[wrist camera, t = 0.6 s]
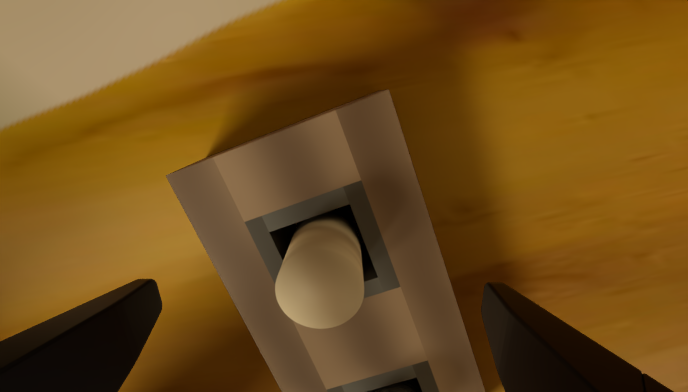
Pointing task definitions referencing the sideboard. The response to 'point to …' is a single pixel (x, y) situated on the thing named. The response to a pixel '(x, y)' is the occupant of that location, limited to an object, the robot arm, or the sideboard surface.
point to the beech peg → (322, 273)
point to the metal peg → (399, 387)
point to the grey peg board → (377, 252)
